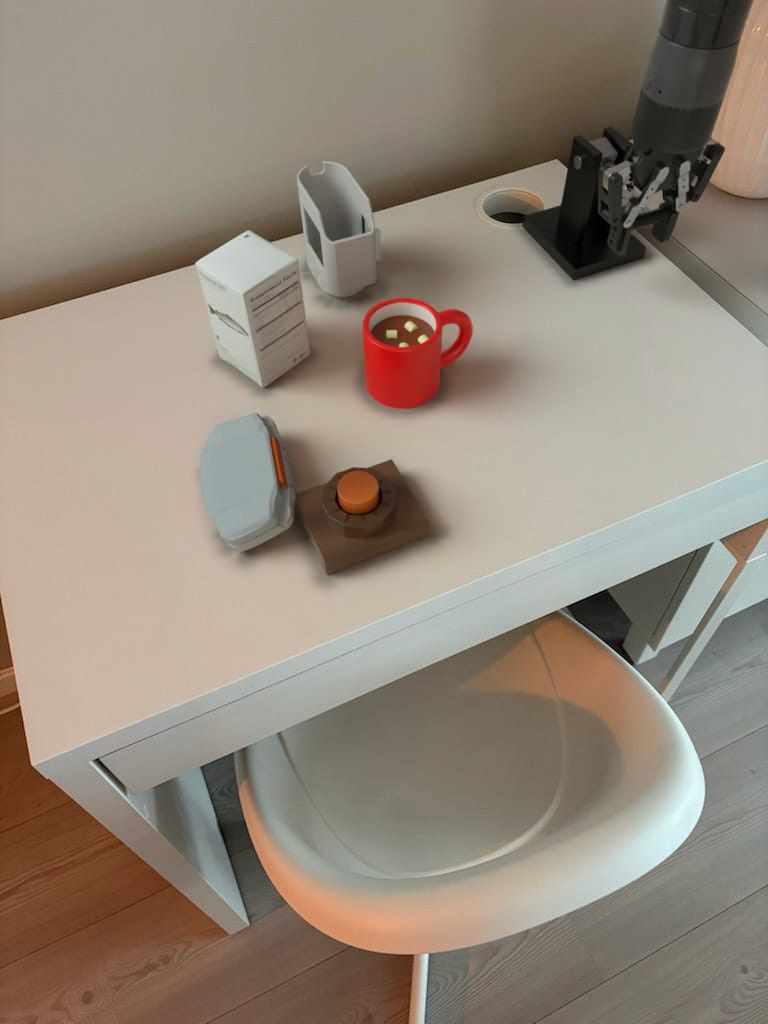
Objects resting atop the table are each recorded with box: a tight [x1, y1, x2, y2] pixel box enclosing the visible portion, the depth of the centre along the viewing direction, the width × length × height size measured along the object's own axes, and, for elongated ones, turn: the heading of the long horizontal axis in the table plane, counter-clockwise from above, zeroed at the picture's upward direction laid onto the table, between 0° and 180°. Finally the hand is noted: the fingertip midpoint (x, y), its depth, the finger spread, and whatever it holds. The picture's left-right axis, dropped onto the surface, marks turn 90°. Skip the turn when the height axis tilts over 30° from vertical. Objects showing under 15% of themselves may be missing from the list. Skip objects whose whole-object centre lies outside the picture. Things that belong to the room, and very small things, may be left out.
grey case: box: [199, 411, 296, 553], centre depth 70 cm, size 14×3×8 cm
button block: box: [294, 458, 430, 576], centre depth 68 cm, size 8×10×4 cm
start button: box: [337, 471, 379, 515], centre depth 66 cm, size 4×4×2 cm
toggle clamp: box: [521, 126, 647, 281], centre depth 88 cm, size 12×10×13 cm
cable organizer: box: [296, 160, 382, 299], centre depth 85 cm, size 7×12×12 cm, turn 22°
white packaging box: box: [194, 229, 311, 389], centre depth 77 cm, size 7×7×13 cm
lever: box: [588, 137, 670, 232], centre depth 83 cm, size 12×5×2 cm, turn 24°
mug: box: [362, 297, 474, 409], centre depth 77 cm, size 8×12×8 cm, turn 117°
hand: (638, 244), depth 83 cm, fingers closed on lever, 5 cm apart
